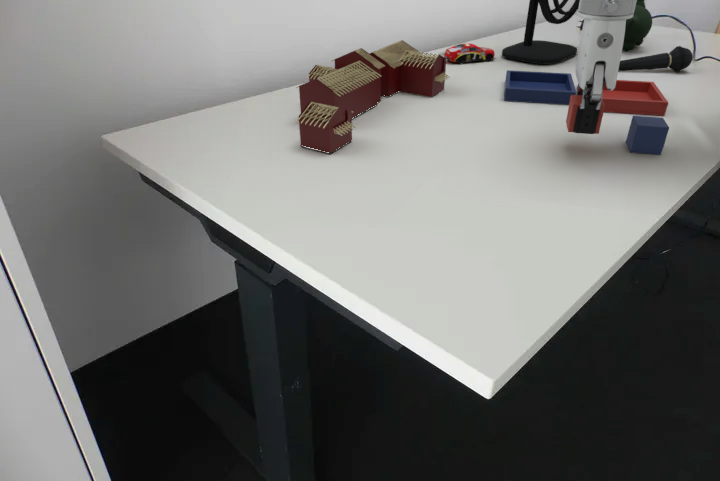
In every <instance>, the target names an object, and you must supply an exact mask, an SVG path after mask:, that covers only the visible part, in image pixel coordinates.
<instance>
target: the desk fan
mask: <svg viewBox="0 0 720 481" xmlns="http://www.w3.org/2000/svg"><path fill="white" fill-rule="evenodd" d="M579 1H580V0H574V2H573V4H572V5H571V6H570V8H569V10H567V11H565V10H563V8H564V7H565V6H566V5H567V3H568V2H569V0H562V1H561V2H559V0H552V2H553V6H554V8H552V9H551V6H550V3H549V0H529V3H528V8H527V9H528V10H527V16H526V21H525V22H526V23H525V28H524V29H525V30H524V36H523V41H521V42H518V43H514V44H512V45H510V46H506V47H505V48H503V49H502V51H501V55H502V56H503V57H504V58H506V59H509V60H515V61H520V62H525V63H530V64H538V65H539V64H541V65H543V64H546V65H547V64H554V63H559V62H562V61H564V60H567V59H569V58H571V57H573V56H576V54H578V47H577V46H575V45H572V44H568V43H561V42H556V41H549V40H534V34H535V28H536V21H537V16H538V8H540V12H541V14H542V16H543V18H544V20H545V21H547V22H548V23H549V24H552V25H562V24H565V23H566V22H568V21H569V20H570V19H571V18H573V16H574V15H575V14H576V12H578V6H579ZM556 13H558V14H560V15H562V17H560V18H557V17H556V16H555V15H554V14H556Z"/></svg>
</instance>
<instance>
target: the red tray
mask: <svg viewBox="0 0 720 481" xmlns="http://www.w3.org/2000/svg"><path fill="white" fill-rule="evenodd" d="M602 100H603V102H604V105H605V108H604V112H603V113H612V114H613V113H616V114H630V115H642V116H645V115H646V116H658V115H659V117H660V116H661V117H666V116H665V115H666V112H667V109H668V106H669V101H668V99H667V98H666V97H665V95H664V94H663V93H662V92H661V90H660V89H659V87H658V86H657V85H656V83H655V82H654V81H649V80H648V81H647V80H646V81H645V80H643V81H642V80H628V79H627V80H626V79H617V81H616V86H615V88H614V89H613V90H612V91H609V90H608V89H607V87H606V85H605V83H604V88H603V94H602Z"/></svg>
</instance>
